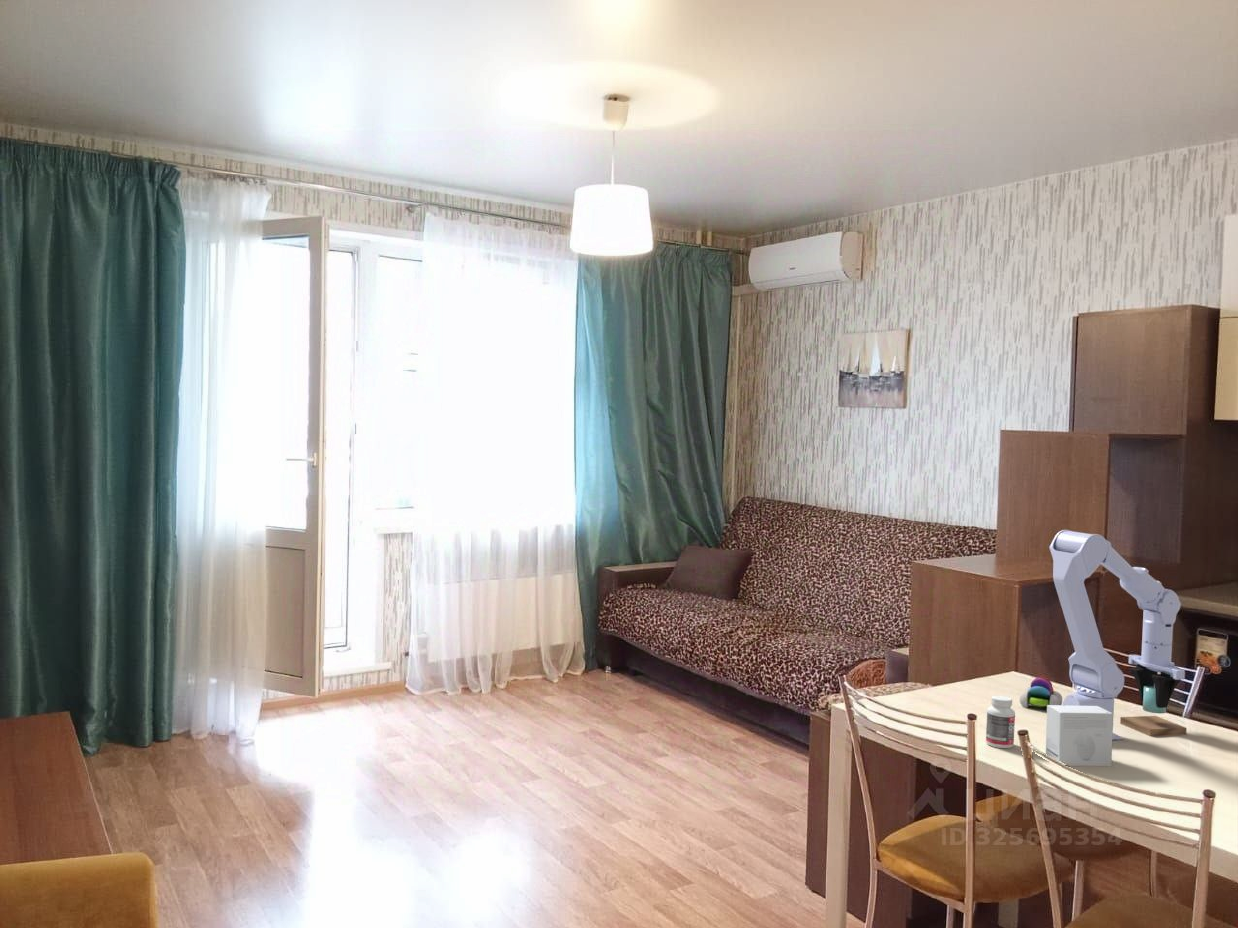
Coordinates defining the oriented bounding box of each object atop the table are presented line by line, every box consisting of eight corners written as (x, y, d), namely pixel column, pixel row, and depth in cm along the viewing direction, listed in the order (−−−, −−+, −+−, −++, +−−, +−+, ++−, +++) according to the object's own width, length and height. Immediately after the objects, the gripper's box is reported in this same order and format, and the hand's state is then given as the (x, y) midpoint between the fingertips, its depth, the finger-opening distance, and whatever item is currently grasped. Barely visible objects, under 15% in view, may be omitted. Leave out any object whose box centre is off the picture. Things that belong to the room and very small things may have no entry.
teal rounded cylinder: (1152, 713, 213) (1153, 690, 213) (1138, 707, 217) (1139, 685, 217) (1170, 713, 214) (1171, 690, 213) (1155, 707, 218) (1156, 684, 218)
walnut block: (1149, 740, 210) (1150, 729, 210) (1119, 727, 219) (1120, 716, 219) (1185, 738, 212) (1186, 727, 212) (1155, 726, 221) (1155, 715, 221)
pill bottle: (1014, 750, 199) (1016, 702, 199) (986, 747, 201) (988, 699, 201) (1012, 742, 205) (1014, 695, 204) (985, 739, 206) (987, 693, 206)
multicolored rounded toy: (1063, 706, 234) (1064, 676, 233) (1056, 715, 226) (1058, 684, 225) (1025, 700, 238) (1026, 670, 238) (1017, 709, 230) (1018, 678, 230)
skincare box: (1095, 756, 197) (1097, 704, 197) (1112, 767, 191) (1114, 713, 191) (1043, 755, 197) (1046, 703, 197) (1058, 766, 191) (1061, 712, 190)
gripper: (1198, 649, 208) (1195, 713, 209) (1149, 634, 223) (1146, 694, 223) (1169, 650, 207) (1166, 714, 208) (1121, 635, 221) (1118, 695, 222)
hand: (1154, 704), depth 215 cm, fingers closed on teal rounded cylinder, 4 cm apart
